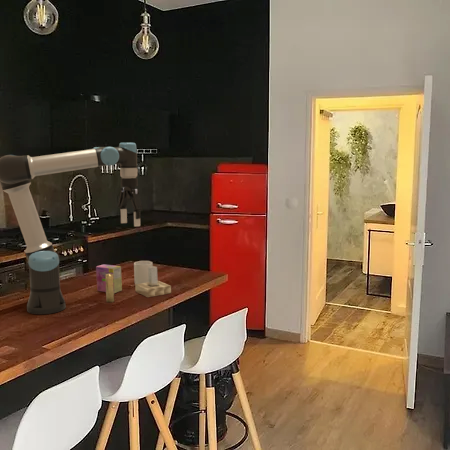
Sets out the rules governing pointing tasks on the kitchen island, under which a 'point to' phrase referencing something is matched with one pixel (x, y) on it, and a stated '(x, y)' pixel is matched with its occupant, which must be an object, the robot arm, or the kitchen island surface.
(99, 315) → the kitchen island surface
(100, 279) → the box
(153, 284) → the square bit
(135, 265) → the mug
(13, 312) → the kitchen island surface
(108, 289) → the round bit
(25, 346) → the kitchen island surface
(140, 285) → the socket block
